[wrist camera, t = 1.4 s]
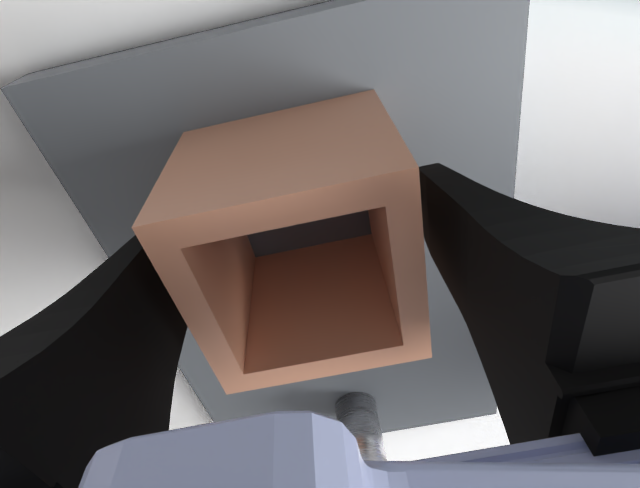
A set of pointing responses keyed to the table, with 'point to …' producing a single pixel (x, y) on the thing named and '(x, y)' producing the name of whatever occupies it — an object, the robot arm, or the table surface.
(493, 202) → the robot arm
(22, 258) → the table surface
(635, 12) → the table surface
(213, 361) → the sleeve
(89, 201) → the pin plate
